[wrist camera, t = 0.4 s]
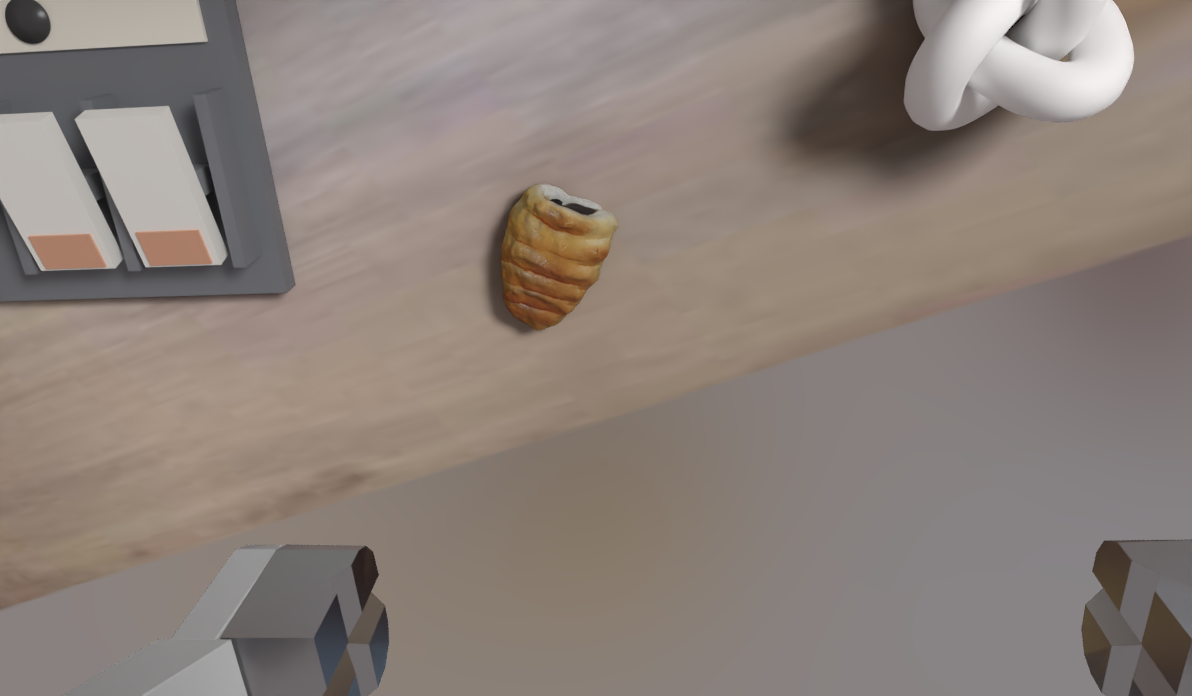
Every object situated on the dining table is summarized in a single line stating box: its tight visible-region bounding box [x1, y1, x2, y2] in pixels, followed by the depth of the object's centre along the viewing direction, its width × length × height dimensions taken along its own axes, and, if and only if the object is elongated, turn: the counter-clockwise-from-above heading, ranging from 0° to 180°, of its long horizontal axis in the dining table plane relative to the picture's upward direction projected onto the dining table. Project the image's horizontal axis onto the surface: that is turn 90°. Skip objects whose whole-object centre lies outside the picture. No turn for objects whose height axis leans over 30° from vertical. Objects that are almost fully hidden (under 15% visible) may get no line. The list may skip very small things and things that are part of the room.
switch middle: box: [0, 112, 124, 271], centre depth 53 cm, size 10×5×1 cm, turn 4°
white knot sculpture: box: [904, 0, 1134, 131], centre depth 47 cm, size 11×12×9 cm
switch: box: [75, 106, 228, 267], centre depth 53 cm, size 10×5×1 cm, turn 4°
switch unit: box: [0, 0, 295, 301], centre depth 55 cm, size 24×24×4 cm
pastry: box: [501, 184, 618, 330], centre depth 57 cm, size 9×7×4 cm
